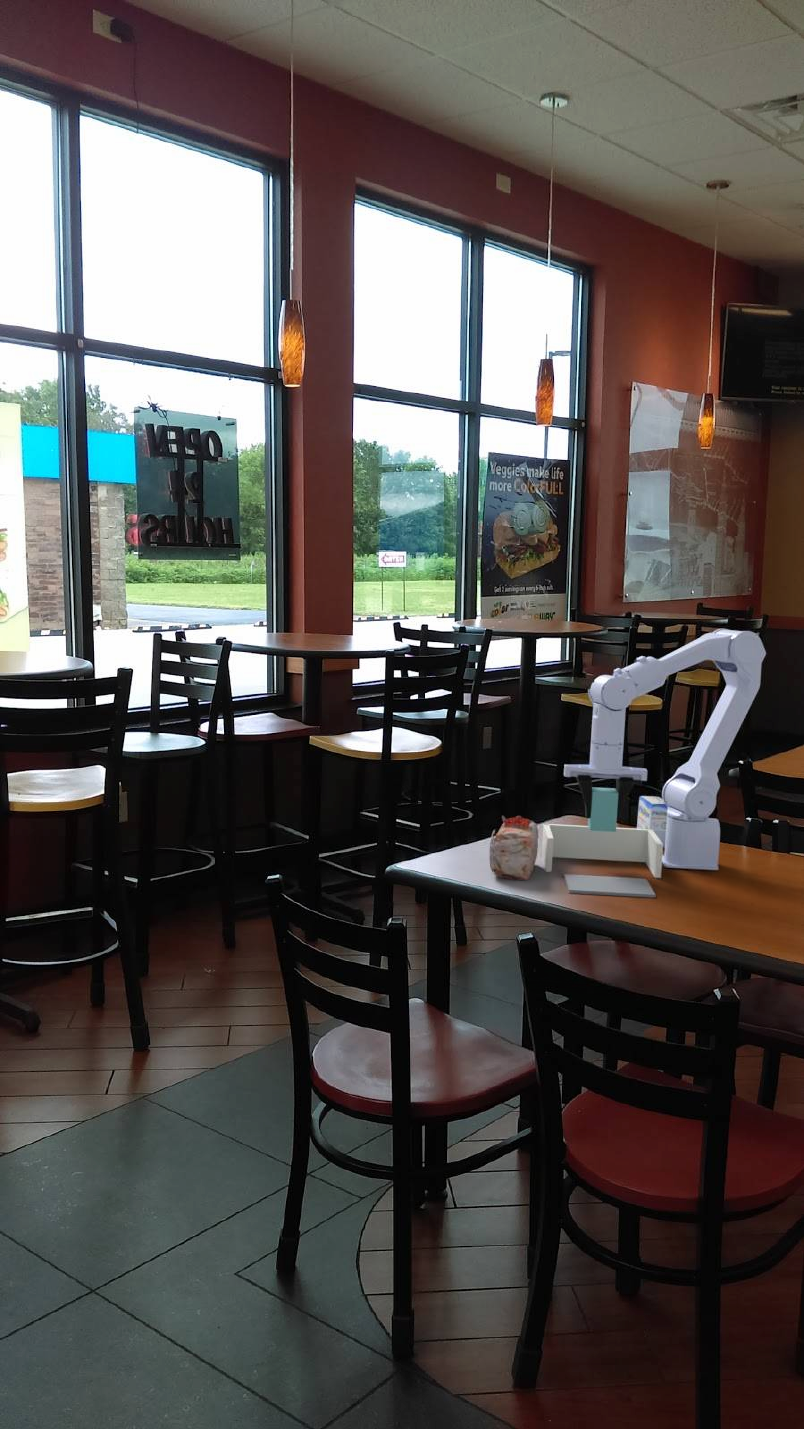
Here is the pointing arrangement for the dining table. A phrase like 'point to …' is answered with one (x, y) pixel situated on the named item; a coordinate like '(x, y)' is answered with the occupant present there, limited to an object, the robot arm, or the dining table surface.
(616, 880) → the slate mat
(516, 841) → the food item
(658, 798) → the medicine box
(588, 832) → the open folding screen
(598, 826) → the teal block
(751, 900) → the dining table surface
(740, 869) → the dining table surface
